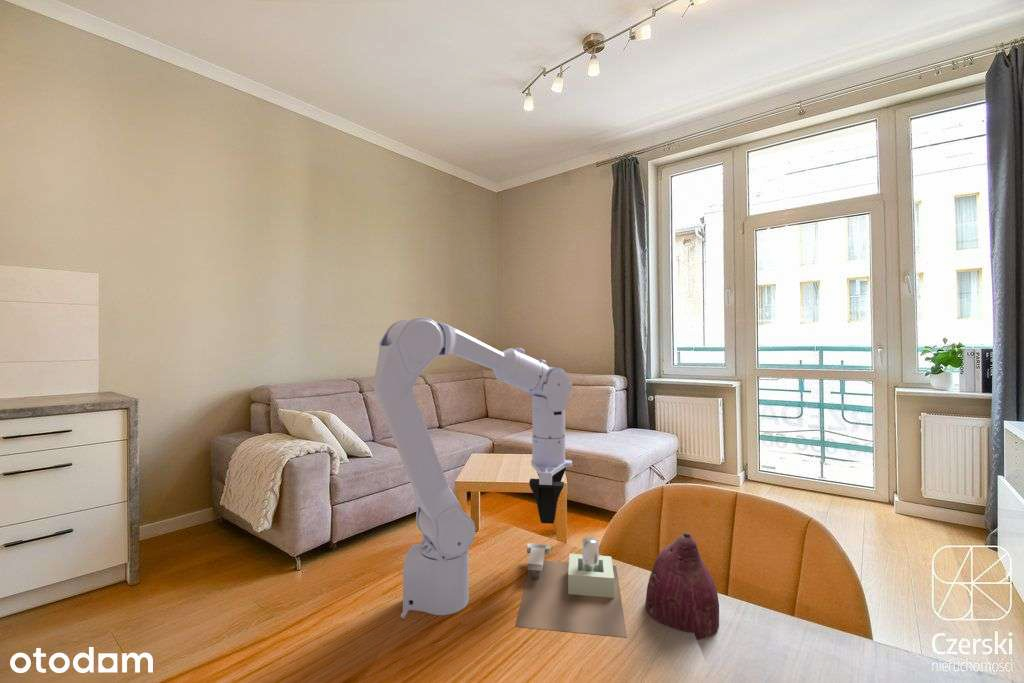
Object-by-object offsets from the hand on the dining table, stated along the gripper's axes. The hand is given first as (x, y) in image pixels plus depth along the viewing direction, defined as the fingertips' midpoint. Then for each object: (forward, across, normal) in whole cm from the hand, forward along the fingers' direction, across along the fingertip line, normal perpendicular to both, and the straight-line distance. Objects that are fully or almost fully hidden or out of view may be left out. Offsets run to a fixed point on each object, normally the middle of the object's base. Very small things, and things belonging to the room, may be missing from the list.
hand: (549, 513), depth 76 cm
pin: (+9, -4, -7) cm, 12 cm away
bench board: (+10, -7, -4) cm, 13 cm away
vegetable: (+11, -9, -20) cm, 24 cm away
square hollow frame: (+10, -4, -7) cm, 13 cm away
